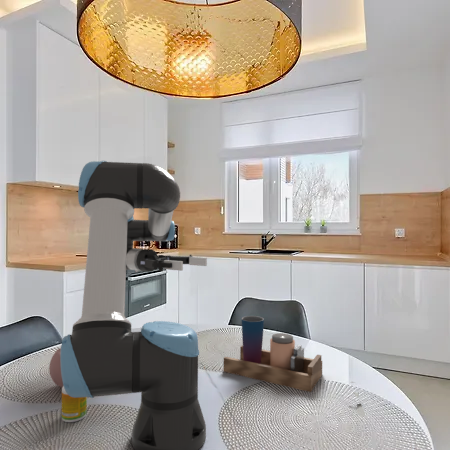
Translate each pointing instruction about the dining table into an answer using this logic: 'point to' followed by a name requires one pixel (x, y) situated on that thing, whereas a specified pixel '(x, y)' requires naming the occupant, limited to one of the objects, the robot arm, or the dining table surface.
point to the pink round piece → (56, 369)
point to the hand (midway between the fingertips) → (194, 263)
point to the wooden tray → (276, 371)
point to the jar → (281, 350)
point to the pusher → (298, 359)
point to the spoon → (359, 406)
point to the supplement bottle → (73, 407)
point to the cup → (252, 338)
